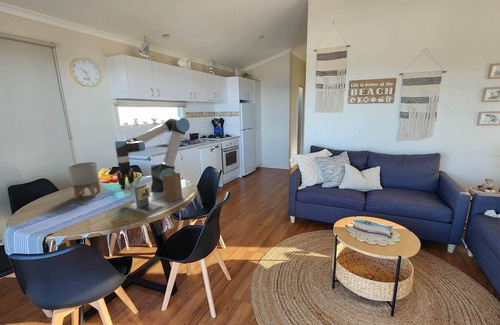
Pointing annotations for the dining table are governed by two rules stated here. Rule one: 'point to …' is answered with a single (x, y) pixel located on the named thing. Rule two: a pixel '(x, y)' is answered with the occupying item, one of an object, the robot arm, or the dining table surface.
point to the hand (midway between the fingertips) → (128, 192)
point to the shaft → (132, 189)
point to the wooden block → (172, 186)
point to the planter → (84, 177)
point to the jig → (143, 203)
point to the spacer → (141, 193)
